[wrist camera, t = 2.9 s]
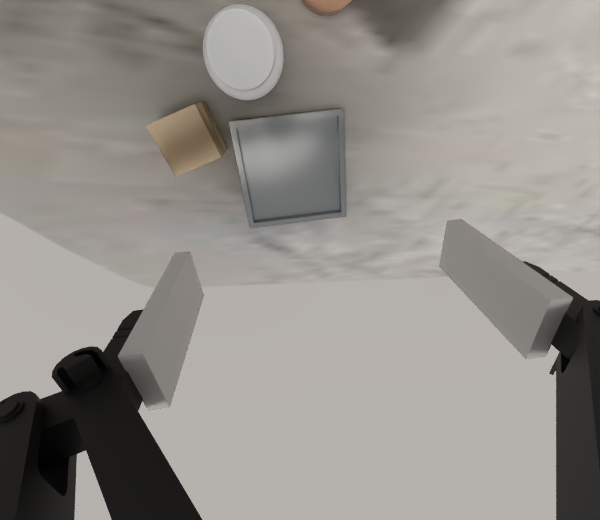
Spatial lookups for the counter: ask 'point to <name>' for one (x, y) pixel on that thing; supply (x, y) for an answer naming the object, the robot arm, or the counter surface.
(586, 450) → the robot arm
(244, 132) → the slate tray
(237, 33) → the pill bottle
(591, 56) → the counter surface
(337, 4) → the brown egg
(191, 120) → the cork block
